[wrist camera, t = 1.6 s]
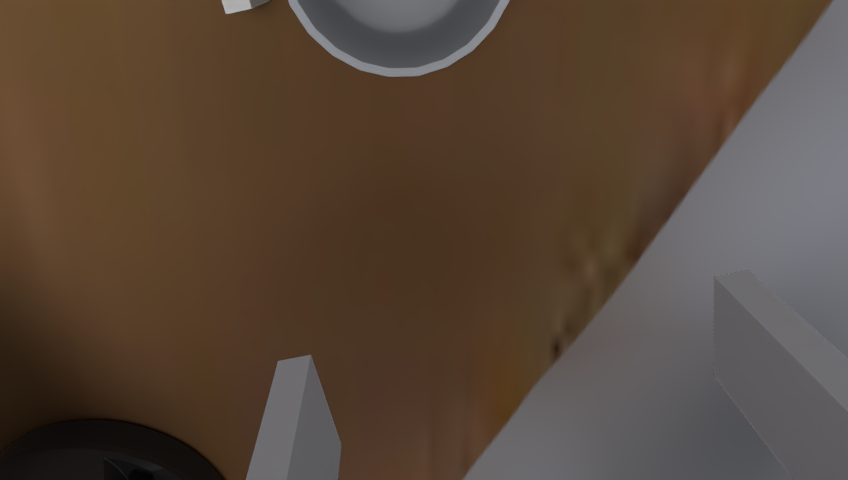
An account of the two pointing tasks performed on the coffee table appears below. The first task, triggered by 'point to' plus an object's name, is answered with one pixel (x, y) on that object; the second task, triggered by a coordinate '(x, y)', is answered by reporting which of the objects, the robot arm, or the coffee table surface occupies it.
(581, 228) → the coffee table surface
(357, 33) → the cup
